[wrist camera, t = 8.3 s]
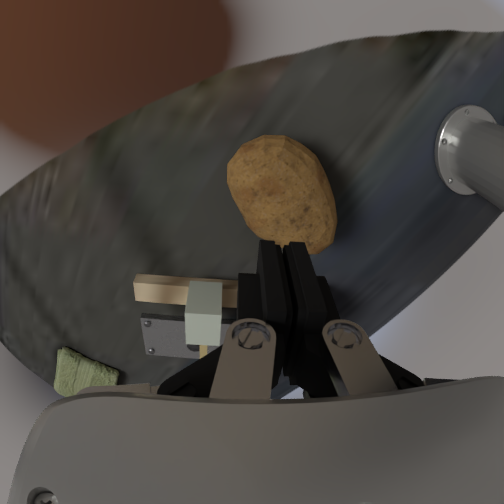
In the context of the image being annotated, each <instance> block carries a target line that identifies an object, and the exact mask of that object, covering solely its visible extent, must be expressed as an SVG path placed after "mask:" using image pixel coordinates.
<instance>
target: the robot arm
mask: <svg viewBox="0 0 504 504" xmlns="http://www.w3.org/2000/svg"><path fill="white" fill-rule="evenodd" d="M435 163H436V168H437V171H438V174H439V176H440V178H441V179H442V181H443V182H444V183H445V185H446V186H447V187H449V188H450V189H451V190H453V191H454V192H456V193H458V194H462V195H471V194H474V193H477V194H479V195H481V196H482V197H483V198H485V199H486V200H488V201H489V202H491V203H492V204H494V205H495V206H497V207H498V208H499V209H501V210H502V211H504V127H503V126H501V125H498V124H497V123H496V121H495V120H494V118H493V117H492V116H491V115H490V113H489V112H488V111H486V110H485V109H483V108H481V107H478V106H475V105H470V104H469V105H462V106H459V107H457V108H455V109H454V110H452V111H451V112H450V113H449V114H448V115H447V116H446V117H445V119H444V120H443V122H442V124H441V126H440V128H439V130H438V133H437V137H436V141H435ZM282 366H283V374H284V376H289V381H290V385H298V386H299V387H301V388H302V389H304V391H303V397H304V399H270V394H271V390H272V389H273V388H274V387H275V386H276V385H277V384H278V379H279V376H280V374H281V369H282ZM7 504H504V377H500V376H485V377H475V378H469V379H462V380H451V379H433V378H424V380H423V381H422V380H421V379H420V378H419V377H417V376H416V375H414V374H413V373H411V372H409V371H408V370H406V369H404V368H402V367H400V366H399V365H397V364H395V363H393V362H392V361H390V360H388V359H386V358H385V357H383V356H381V355H379V354H378V353H377V351H376V350H375V348H374V346H373V344H372V343H371V341H370V339H369V337H368V336H367V334H366V332H365V331H364V330H363V329H362V327H360V326H359V325H357V324H356V323H354V322H351V321H348V320H340V317H339V314H338V311H337V308H336V306H335V303H334V300H333V297H332V294H331V291H330V289H329V286H328V283H327V280H326V278H325V277H324V276H316V274H315V271H314V268H313V265H312V262H311V259H310V256H309V253H308V250H307V247H306V244H305V242H293V241H290V242H289V245H284V247H283V253H282V251H281V246H280V245H277V244H275V241H273V240H260V242H259V251H258V262H257V272H256V274H248V273H238V289H237V319H236V322H234V323H232V324H231V325H230V326H229V328H228V330H227V332H226V335H225V339H224V343H223V344H222V345H221V346H219V347H218V348H216V349H215V350H213V351H212V352H210V353H208V354H207V355H205V356H204V357H202V358H201V359H199V360H197V361H196V362H194V363H193V364H191V365H189V366H188V367H186V368H185V369H183V370H181V371H180V372H178V373H176V374H175V375H173V376H172V377H170V378H168V379H167V380H166V381H164V382H163V383H162V384H161V385H160V386H150V383H145V384H131V385H112V386H91V387H86V388H84V389H82V390H80V391H79V392H78V393H77V394H76V395H72V396H69V397H65V398H62V399H60V400H57V401H55V402H53V403H52V404H50V405H49V406H48V407H47V408H45V409H44V411H43V412H42V413H41V414H40V416H39V417H38V419H37V420H36V422H35V424H34V425H33V427H32V429H31V431H30V433H29V435H28V438H27V440H26V442H25V445H24V447H23V450H22V453H21V455H20V459H19V461H18V464H17V467H16V471H15V474H14V478H13V481H12V485H11V489H10V493H9V498H8V502H7Z"/></svg>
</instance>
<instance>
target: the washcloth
mask: <svg viewBox="0 0 504 504" xmlns="http://www.w3.org/2000/svg"><path fill="white" fill-rule="evenodd" d="M57 355H58V356H57V357H58V358H57V367H56V377H55V378H56V379H55V381H54V389H55V390H56V391H57V392H58V393H59V394H61V395H63V396H65V397H69V396H72V395H76V394H77V393H78V392H79V391H80V390H82V389H84V388H86V387H91V386H112V385H117V382H118V381H117V380H118V376H119V372H118V370H116V369H113V368H111V367H108V366H105V365H104V364H101V363H100V362H98V361H92V360H91V359H88V358H85V357H84V356H82V355H81V354H80V353H76V352H75V351H73V350H72V349H69V348H68V347H63V348H62V349H59V350H58V354H57Z"/></svg>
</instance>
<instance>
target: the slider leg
mask: <svg viewBox="0 0 504 504" xmlns="http://www.w3.org/2000/svg"><path fill="white" fill-rule="evenodd" d="M221 316H222V283H220V282H204V281H190V283H189V289H188V295H187V302H186V308H185V335H186V344H193V345H200V359H201V358H202V357H204V356H205V355H207V345H209V346H220V331H221Z"/></svg>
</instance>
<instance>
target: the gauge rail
mask: <svg viewBox="0 0 504 504" xmlns="http://www.w3.org/2000/svg"><path fill="white" fill-rule="evenodd" d="M190 281H204V282H220V283H222V307H230V308H237V289H238V280H221V279H205V278H190V277H175V276H161V275H148V274H137V275H136V277H135V280H134V282H133V284H134V292H135V299H136V301H145V302H156V303H168V304H182V305H186V302H187V295H188V289H189V283H190Z"/></svg>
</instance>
